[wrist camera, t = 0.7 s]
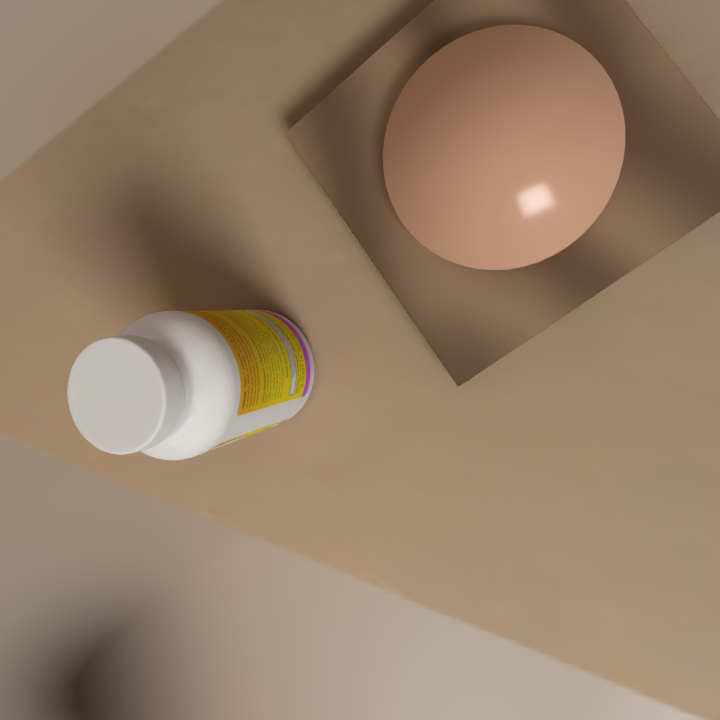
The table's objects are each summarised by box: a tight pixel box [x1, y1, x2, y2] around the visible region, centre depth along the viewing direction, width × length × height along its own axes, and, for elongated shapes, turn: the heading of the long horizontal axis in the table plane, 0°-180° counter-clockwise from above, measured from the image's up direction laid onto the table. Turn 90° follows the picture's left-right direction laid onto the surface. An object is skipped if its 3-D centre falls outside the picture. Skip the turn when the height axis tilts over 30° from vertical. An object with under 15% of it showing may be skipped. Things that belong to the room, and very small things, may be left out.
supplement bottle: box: [67, 310, 314, 460], centre depth 32 cm, size 7×7×13 cm
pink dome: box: [383, 25, 625, 271], centre depth 31 cm, size 11×11×1 cm
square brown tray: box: [285, 0, 720, 386], centre depth 32 cm, size 16×16×2 cm
